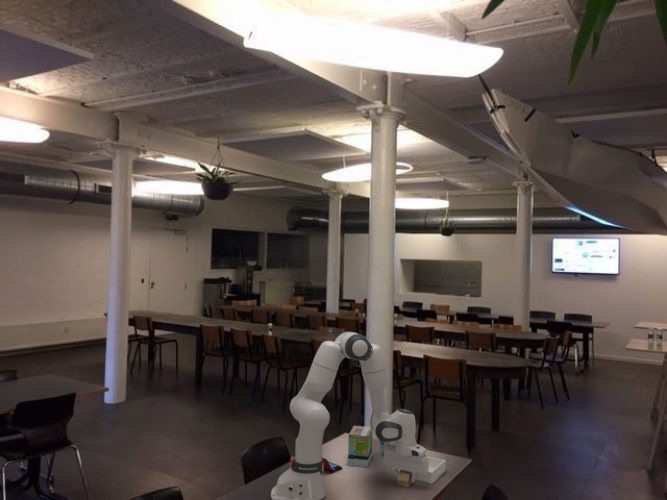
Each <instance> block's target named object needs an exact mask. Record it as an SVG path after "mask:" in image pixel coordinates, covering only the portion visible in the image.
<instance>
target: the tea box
mask: <svg viewBox="0 0 667 500" xmlns="http://www.w3.org/2000/svg"><path fill="white" fill-rule="evenodd" d="M373 432H374V430H373V429H372V427H371V426H362V425H353V426H352V428H351V430H350V432H349V433H348V443H347V445H348V447H347V448H348V449H347V450H348V451H347V452H348V454H347V465H348V466H352V467H360V468H361V467H362V468H368V467H369V465H370V462H371V459H372V457H373V436H374V435H373Z"/></svg>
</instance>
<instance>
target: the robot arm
mask: <svg viewBox="0 0 667 500" xmlns="http://www.w3.org/2000/svg"><path fill="white" fill-rule="evenodd" d="M345 358H347V359H350V360H353V361H359V364H360V368H361V374H362V377H363V381H364V384H365V387H366V388H367V391H368V393H369V397H370V402H371V409H372V411H371V418H370V427H372V429H373V432H374V434H375V436H376V437H377V439H378V440H379V442H380V441H383V442H391V441H395V445H390V444H387V445H385V446H384V456H382V464H383V466H384V467H389V468H393V472H394V473H395V479H397V475H398V472H399V470H400V471H401V470H405V471H409V472H412V475H413V476H412V477H410V482H413V483H414V482H415V481H416V480H415V476H416V474H417V473H418V474H422V475H425V474H426V473H427V472H428V470H429V466H428V458H427V449H426V448H425V447H424V446H422V445H421V444H418V443H417V441H416V440H417V439H416V432H417V431H416V430H417V429H416V428H417V427H416V417H415V414H414V412H412V411H411V410H408V409H406V408H398V409H396V410H395V411H394V412H393V413H391V414H390V413H389V411H388V409H387V406H386V405H387V404H386V399H385V397H386V396H385V389H386V388H387V385H388V383H389V372H388V371H389V370H388V366H387V365H388V364H387V362H386V361H387V360H386V358H385V355H384V352H383V350H382V347H381V346H380V345H379V344H376V343H371V342H370V341H369V340H368V338H366V337H365V336H364V335H362V334H359V333H358V332H355V331H343V332H341V333H339V334H338V335H336V337H335V338H334V339H333V340H326V341H323V342H322V343H321V344H320V346H319V347H318V349H317V351H316V353H315V355H314V357H313V360H312V363H311V365H310V369H309V371H308V374H307V377H306V380H305V381H304V383H303V385H302V387H301V389H300V390H299V392H298V393H297V395H296V396H294V397H293V398H292V399H291V401H290V403H289V410H290V413H291V415H292V417H293V418H294V419H295V420H296V421H297V422H299V423H298V424H299V431H298V436H297V437H296V439H295V447H294V448H295V456H291V457H290V465H289V468H288V469H287V470H285V471H284V472H283V473H282V474H281V475H280V476H279V477H278V479H277V483H276V485H274V487H273V488H272V489H271V492H270V498H271V500H322V499H323V498H324V497H326V495H327V492H326V488H325V484H324V477H323V476H324V475H323V473H324V470H323V458H324V457H323V440H324V439H323V438H324V434H325V430H326V428H327V427H328V425H329V424H330V420H331V417H330V413H329V411H328V409H327V408H326V406H325V405H324V404H323V403H321V402H322V400H323V399H324V397H325V395H326V394H328V393H329V392H330V391H331V389H332V387H333V384H334V382H335V379H336V376H337V373H338V370H339V366H340V364H341V362H342V361H343V360H344V359H345Z"/></svg>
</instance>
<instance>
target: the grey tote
mask: <svg viewBox="0 0 667 500" xmlns="http://www.w3.org/2000/svg"><path fill="white" fill-rule="evenodd" d="M426 456H427V455H426ZM427 458H428V466H429V470H428V472H427V473H426V474H425V475H422V474H418V473H417V474H416V476H415V480H414V481H416V482H421V483H424V482H425V483H426V484H428V483H429V485H433V484H434V483H435V482H436V481H437V480H438V479H439V478H441V477H442V475H443V474H444V473H446V470H447V466H446V465H447V460H446V459H442V458H437V457H432V456H427ZM425 483H424V484H425Z"/></svg>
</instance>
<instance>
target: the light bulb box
mask: <svg viewBox="0 0 667 500" xmlns="http://www.w3.org/2000/svg"><path fill="white" fill-rule="evenodd" d="M387 444H390V445H395V441H391V442H383V441H380V440H379V455H380V456H382V457H383V456H384V446H385V445H387Z"/></svg>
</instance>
